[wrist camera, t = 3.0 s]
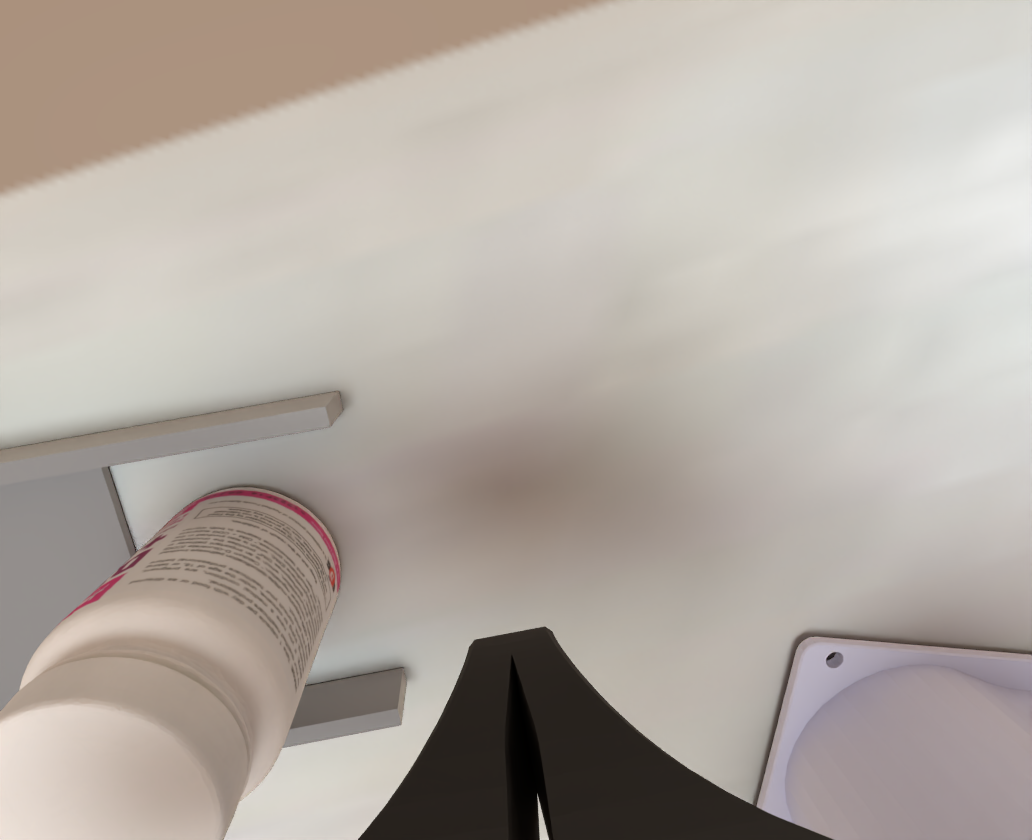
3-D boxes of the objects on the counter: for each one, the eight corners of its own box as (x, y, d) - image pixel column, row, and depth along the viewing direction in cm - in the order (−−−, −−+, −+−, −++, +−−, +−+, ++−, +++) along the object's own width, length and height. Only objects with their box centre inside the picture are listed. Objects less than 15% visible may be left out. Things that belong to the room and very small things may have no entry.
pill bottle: (174, 464, 18) (-71, 648, 10) (359, 504, 18) (279, 710, 10) (147, 628, 19) (-96, 922, 10) (324, 660, 19) (223, 962, 11)
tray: (338, 390, 17) (325, 406, 16) (406, 683, 20) (401, 724, 18) (-273, 497, 17) (-356, 525, 15) (-134, 785, 19) (-194, 839, 17)
